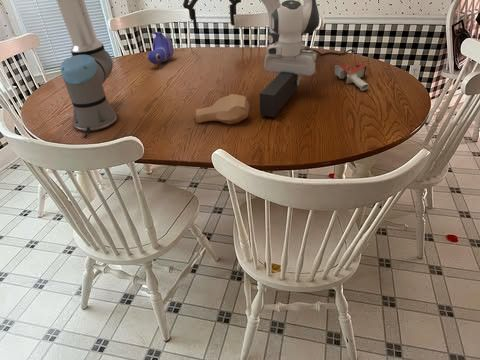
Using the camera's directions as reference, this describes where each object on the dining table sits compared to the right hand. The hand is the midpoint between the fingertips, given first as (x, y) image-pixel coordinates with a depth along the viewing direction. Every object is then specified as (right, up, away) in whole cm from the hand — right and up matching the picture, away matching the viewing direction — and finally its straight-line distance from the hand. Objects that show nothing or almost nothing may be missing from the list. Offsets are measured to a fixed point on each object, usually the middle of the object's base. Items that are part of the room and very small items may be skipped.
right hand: (288, 83), depth 143 cm
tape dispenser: (+28, +3, +9) cm, 30 cm away
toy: (-61, +22, +43) cm, 78 cm away
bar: (-4, -8, -6) cm, 11 cm away
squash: (-26, -17, -14) cm, 34 cm away
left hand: (-29, +16, -15) cm, 37 cm away
